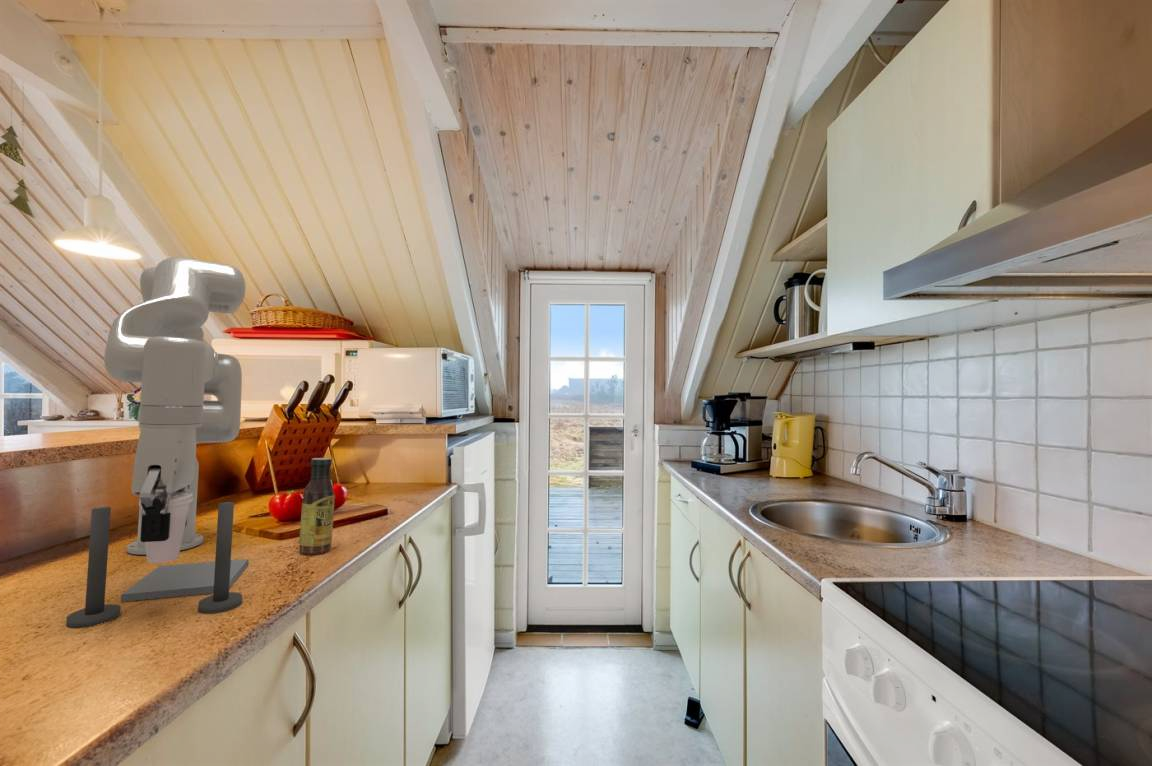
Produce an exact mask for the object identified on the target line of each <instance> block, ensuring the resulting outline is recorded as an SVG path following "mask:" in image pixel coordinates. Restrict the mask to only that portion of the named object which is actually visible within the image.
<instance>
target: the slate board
mask: <svg viewBox="0 0 1152 766" xmlns="http://www.w3.org/2000/svg"><path fill="white" fill-rule="evenodd" d="M249 560H250V558H245V559H244V558H241V559H231V566H230V583H229V589H231V587H232V586H233V585H234V583H235V582H236V581H237V580H238V579H239V577H240V576H241V575H242V574H243V572H244V571H245V570H246V569H245V568H247V567H249ZM244 569H245V570H244ZM214 574H215V561H204V562H193V563H191V562H190V563H180V564H179V563H178V564H168V565H166V564H165V565H159V566H157V567H156V568H155V569H154V570H152V571H151V572H150V573H148V574H147V575H145V576H143V578H141V579H140V580H138V581H137V582H136V583H135V584H133V585H132V586H131V587H129V588H128V589H126V590H125V591H124V592H122V594H121V595H120V596H121V597H120V603H125V602H127V601H128V602H135V600H139V601H146V600H145V599H149V600H155V599H154V598H159V599H166V598H165V597H169V598H177V597H178V596H179V597H187V596H189V595H190V596H197V595H198V596H199V595H208V594H213V591H214ZM179 597H178V598H179Z"/></svg>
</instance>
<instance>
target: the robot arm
mask: <svg viewBox="0 0 1152 766" xmlns="http://www.w3.org/2000/svg"><path fill="white" fill-rule="evenodd" d="M245 280H246V279H245V278H244V275H243V273H242V272H241V271H240V269H238V268H237V267H235V266H234V265H231V264H225V263H221V262H216V261H215V262H214V261H208V260H202V259H197V258H190V257H185V256H184V257H183V256H172V257H168V258H165V259H162V260H161V261H160V262H158V264H157V265H156V266H153V267H148V268H146V269H144V270H143V271H142V272H141V275H140V279H139V286H140V293H141V297H142V300H143V301H142V302H140V303H138V304H135V305H133V306H131V307H129V308H128V309H125V310H123V311H122V312H121V313H119V315H117V316H116V318H115V319H114V320H113V322H112V323H111V326H110V329H109V331H108V336H107V340H106V344H105V349H104V356H103V357H104V359H103V363H104V367H105V371H106V372H107V373H108V375H109V376H110V377H111V378H113V379H114V380H116V381H120V382H126V383H141V384H140V385H141V387H140V400H139V402H140V404H139V415H138V428H139V429H140V430H139V431H140V433H139V436H138V439H137V446H136V451H135V455H134V457H135V458H134V465H133V472H132V480H131V482H132V483H131V493H132V494H133V495H134V496H138V497H139V498H140V500H141V502H142V503H141V505H142V507H141V506H139V505H138V506H139V507H138V508H139V511H138V522H137V523H138V526H137V539H136V540H135V541H132V542H130V543H129V544H127V545H126V552H127V553H128V554H132V555H139V556H141V555H142V556H143V555H146V546H145V542H155V541H166V540H167V539H168V538H169V530H170V514H171V513H167V512H168V507H169V502H170V498H171V494H172V493H174V492H189V493H192V494H193V495H192V499H193V500H192V501H191V502H190V504H189V509H188V514H187V519H186V523H185V528H184V533H183V538H182V543H181V547H180V552H181V551H184V550H188V549H191V548H194V547H197V546H199V545H201V544H202V543H203V542H204V536H203V535H201V534H199V533H196V523H197V522H196V520H197V518H196V517H197V505H198V504H197V502H198V486H199V485H198V484H199V473H200V472H199V469H200V468H199V467H200V464H199V461H198V459H197V444H213V443H228V442H231V441H234V440H235V439H236V438H237V437H238V435H239V433H240V428H241V415H242V414H241V413H242V388H243V385H242V384H243V383H242V382H243V380H242V379H243V378H242V377H243V374H242V367H241V363H240V361H239V360H238V358H237V357H235V356H233V355H230V354H225V353H218V352H217V351H215V349H214V347H213V346H211V345H210V343H207V342H205V341H204V338H205V337H204V336H205V335H204V331H203V328H202V326H203V325H204V324H205V323H206V322H207V321H208V318H209V314H210V312H211V313H218V314H234V313H235V312H237V311H238V310H239V308H240V307H241V306H242V304H243V302H244V299H245V296H246V281H245ZM205 395H207V396H208V395H211V396H214V397H215V398H216V399H217V400H205ZM163 489H165V490H164V491H166V492H163ZM159 497H163V500H162V504H161V502H160V500H159Z"/></svg>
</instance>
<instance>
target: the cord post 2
mask: <svg viewBox="0 0 1152 766" xmlns="http://www.w3.org/2000/svg"><path fill="white" fill-rule="evenodd" d="M234 507H235V502H233V501H227V502H226V501H225V502H220V503H218V507H217V526H216V528H217V529H216V542H215V560H214V562H215V574H214V591H213V593H212V594H213V595H209V596H206V597H204V598H202V599H201V600H199V601H198V604H197V611H198V613H202V614H219V613H222V612H227V611H231V610H233V609H235V608H238V607H239V606H240V605H242V604H243V594H242V593H241V592H236V591H235V592H233V591H231V592H230V588H229V583H230V566H231V560H232V547H233V546H232V545H233V528H234V512H235V511H234Z"/></svg>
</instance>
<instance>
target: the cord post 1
mask: <svg viewBox="0 0 1152 766" xmlns="http://www.w3.org/2000/svg"><path fill="white" fill-rule="evenodd" d="M111 509H112V507H109V506H104V507H101V506H100V507H95V508H92V509H91V515H90V517H91V518H90V534H89V544H88V560H87V561H88V562H87V576H86V587H85V588H86V590H85V604H84V608H82V609H79V610H76V611H74V612H72V613H70V614H68V615H67V616H66V622H65V626H66V627H67V628H70V629H83V628H82V627H85V628H90V627H89V626H91V627H95V626H94V625H96V626H98V625H97V624H100V625H102V624H101V623H103V624H105V623H104V622H106V623H109V622H112V621H114V620H116V619H117V618H119V617H120V616H121V612H122V611H121V605H119V604H116V603H115V604H114V603H106V604H105V600H106V588H107V587H106V586H107V573H108V572H107V571H108V558H109V557H108V556H109V555H108V554H109V538H110V528H111V527H110V525H111V512H112V510H111ZM119 615H120V616H119ZM118 616H119V617H118ZM115 618H116V619H115ZM113 619H114V620H113ZM108 621H109V622H108Z"/></svg>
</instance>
